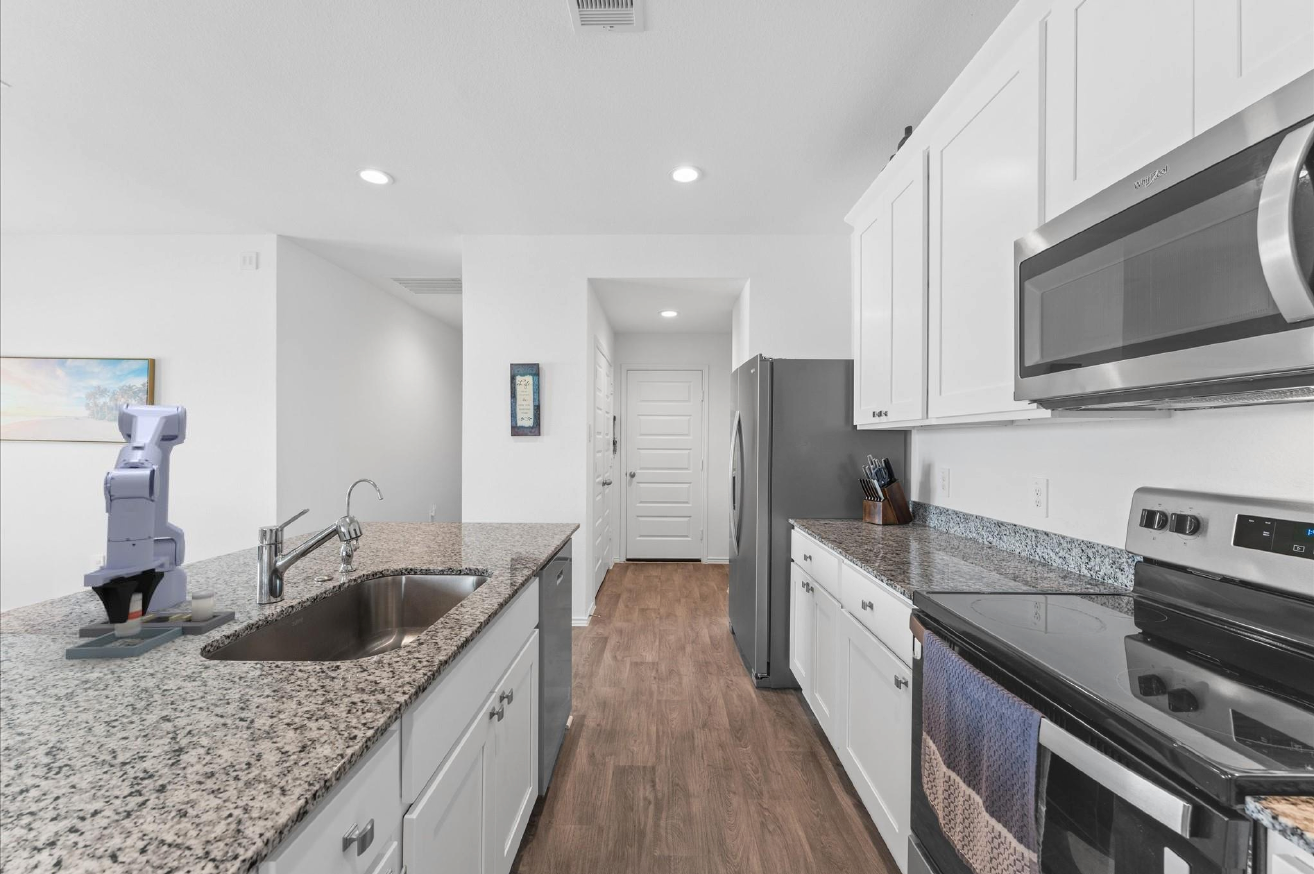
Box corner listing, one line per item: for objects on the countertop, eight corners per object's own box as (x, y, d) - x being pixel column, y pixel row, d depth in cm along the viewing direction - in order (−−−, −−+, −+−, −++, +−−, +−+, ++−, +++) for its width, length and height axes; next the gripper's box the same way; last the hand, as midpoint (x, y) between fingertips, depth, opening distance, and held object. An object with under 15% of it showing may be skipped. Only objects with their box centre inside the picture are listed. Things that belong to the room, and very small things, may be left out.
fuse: (198, 624, 104) (199, 589, 104) (217, 623, 104) (218, 589, 104) (186, 629, 101) (187, 594, 101) (205, 629, 101) (206, 594, 101)
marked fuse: (128, 630, 94) (130, 592, 94) (146, 630, 93) (148, 592, 94) (108, 636, 90) (109, 597, 91) (126, 637, 90) (128, 597, 90)
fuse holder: (122, 626, 105) (123, 610, 105) (234, 623, 107) (235, 608, 107) (78, 643, 96) (79, 625, 96) (201, 639, 98) (202, 622, 98)
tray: (120, 642, 96) (120, 628, 96) (181, 641, 97) (182, 627, 97) (65, 665, 86) (66, 649, 86) (134, 663, 87) (135, 647, 88)
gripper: (140, 532, 99) (137, 607, 99) (63, 546, 85) (60, 634, 84) (182, 532, 100) (180, 606, 100) (113, 546, 86) (110, 633, 85)
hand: (128, 619), depth 92 cm, fingers closed on marked fuse, 3 cm apart
